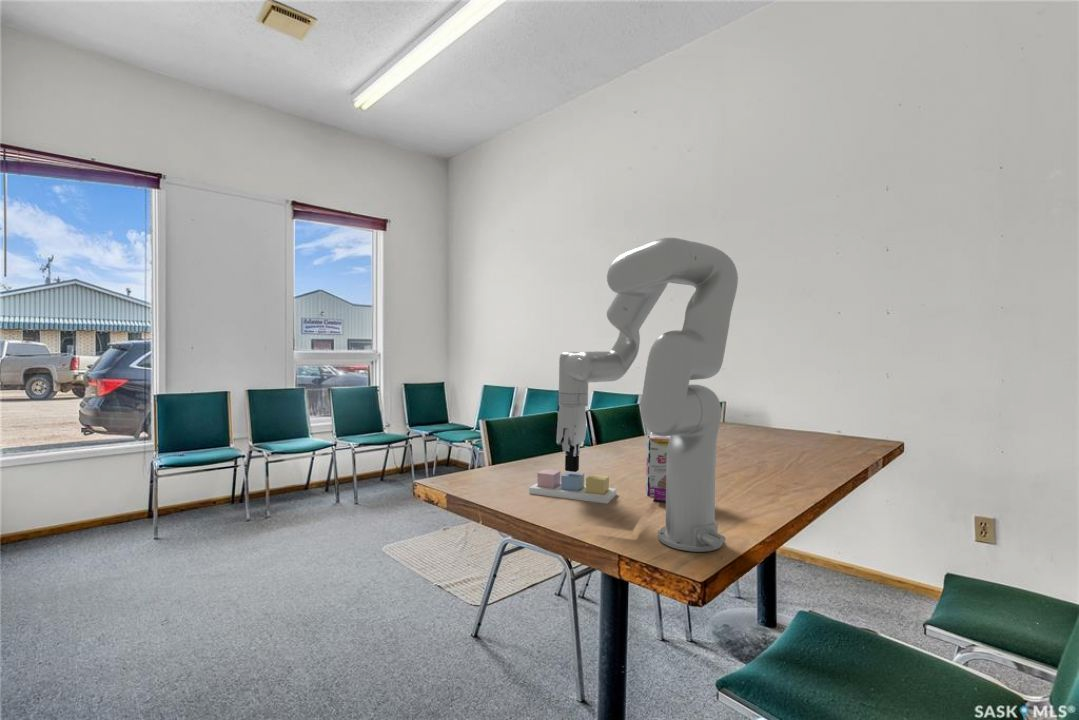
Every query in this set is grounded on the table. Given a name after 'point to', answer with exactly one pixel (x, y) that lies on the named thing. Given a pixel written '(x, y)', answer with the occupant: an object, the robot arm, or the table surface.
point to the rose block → (548, 479)
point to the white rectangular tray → (573, 494)
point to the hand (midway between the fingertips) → (571, 470)
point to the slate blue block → (572, 481)
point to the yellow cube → (597, 484)
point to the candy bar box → (656, 467)
